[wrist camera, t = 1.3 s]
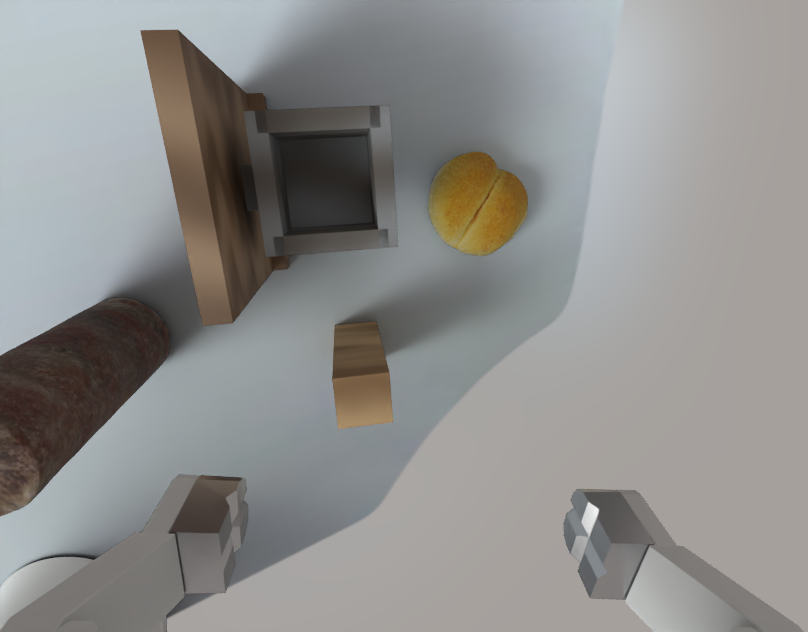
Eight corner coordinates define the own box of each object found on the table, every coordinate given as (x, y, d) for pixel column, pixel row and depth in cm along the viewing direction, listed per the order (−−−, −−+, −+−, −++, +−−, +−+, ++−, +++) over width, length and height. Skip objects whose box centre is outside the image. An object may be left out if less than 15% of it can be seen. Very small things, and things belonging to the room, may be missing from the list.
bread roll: (458, 136, 38) (471, 131, 34) (533, 195, 41) (553, 196, 37) (406, 216, 40) (413, 219, 36) (481, 268, 42) (495, 276, 38)
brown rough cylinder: (179, 301, 39) (26, 414, 20) (177, 375, 41) (35, 543, 22) (85, 289, 37) (-176, 399, 19) (87, 367, 39) (-147, 538, 21)
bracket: (384, 258, 40) (410, 306, 25) (220, 272, 39) (140, 331, 23) (372, 92, 36) (395, 25, 21) (187, 98, 34) (63, 32, 19)
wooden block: (379, 359, 43) (393, 422, 32) (339, 363, 43) (338, 428, 31) (376, 321, 42) (389, 372, 31) (334, 325, 42) (332, 378, 30)
